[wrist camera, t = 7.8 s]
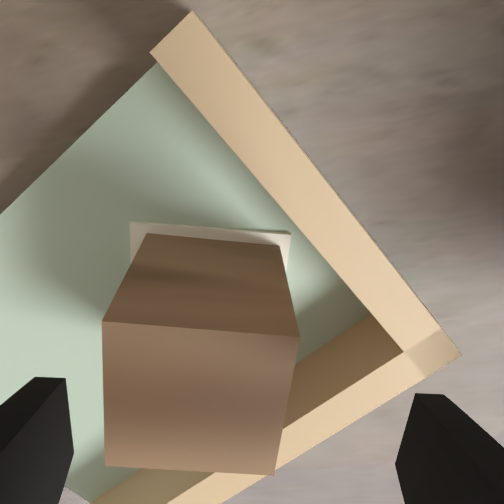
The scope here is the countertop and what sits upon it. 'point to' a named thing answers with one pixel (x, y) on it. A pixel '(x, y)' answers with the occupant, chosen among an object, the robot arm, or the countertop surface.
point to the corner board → (207, 227)
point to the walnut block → (198, 357)
